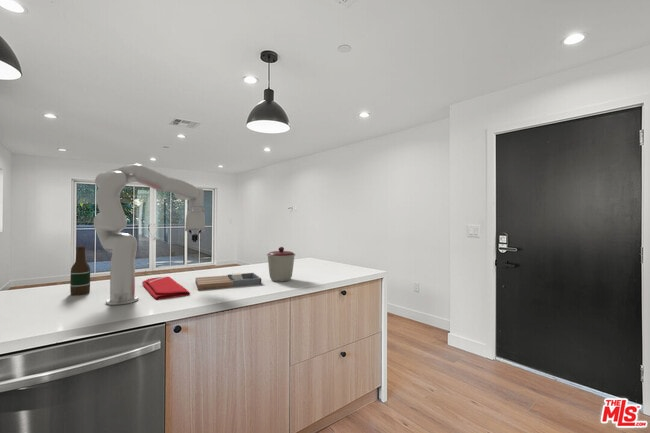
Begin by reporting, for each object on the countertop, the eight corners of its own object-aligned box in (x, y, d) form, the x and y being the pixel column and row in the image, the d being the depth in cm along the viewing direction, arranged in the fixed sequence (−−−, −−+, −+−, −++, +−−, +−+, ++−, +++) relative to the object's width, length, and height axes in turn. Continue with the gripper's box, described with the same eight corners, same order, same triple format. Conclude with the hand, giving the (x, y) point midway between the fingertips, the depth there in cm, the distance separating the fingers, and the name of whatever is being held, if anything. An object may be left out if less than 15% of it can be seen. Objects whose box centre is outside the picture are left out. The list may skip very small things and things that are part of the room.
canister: (267, 283, 180) (267, 248, 180) (265, 277, 198) (266, 245, 198) (297, 282, 185) (297, 248, 185) (293, 276, 202) (293, 245, 202)
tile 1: (241, 278, 180) (241, 274, 180) (232, 279, 178) (232, 274, 178) (240, 276, 185) (240, 272, 185) (231, 277, 183) (231, 273, 183)
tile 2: (243, 282, 181) (243, 278, 181) (234, 283, 179) (234, 278, 179) (241, 280, 185) (241, 276, 185) (232, 281, 183) (233, 277, 183)
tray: (261, 284, 179) (261, 278, 179) (233, 286, 171) (233, 280, 171) (253, 278, 196) (253, 272, 196) (227, 280, 189) (227, 274, 189)
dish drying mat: (155, 301, 143) (155, 293, 143) (141, 285, 175) (141, 278, 175) (190, 296, 153) (190, 288, 153) (171, 281, 185) (171, 275, 185)
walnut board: (232, 287, 171) (232, 281, 171) (198, 290, 163) (198, 284, 163) (226, 280, 189) (226, 275, 189) (195, 282, 181) (195, 277, 181)
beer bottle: (78, 296, 148) (79, 247, 148) (66, 295, 150) (66, 246, 150) (93, 292, 156) (94, 245, 156) (81, 291, 157) (82, 245, 158)
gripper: (209, 210, 180) (208, 241, 179) (181, 209, 173) (180, 241, 173) (210, 210, 173) (209, 242, 172) (181, 208, 167) (180, 242, 166)
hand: (194, 241), depth 173 cm, fingers closed
